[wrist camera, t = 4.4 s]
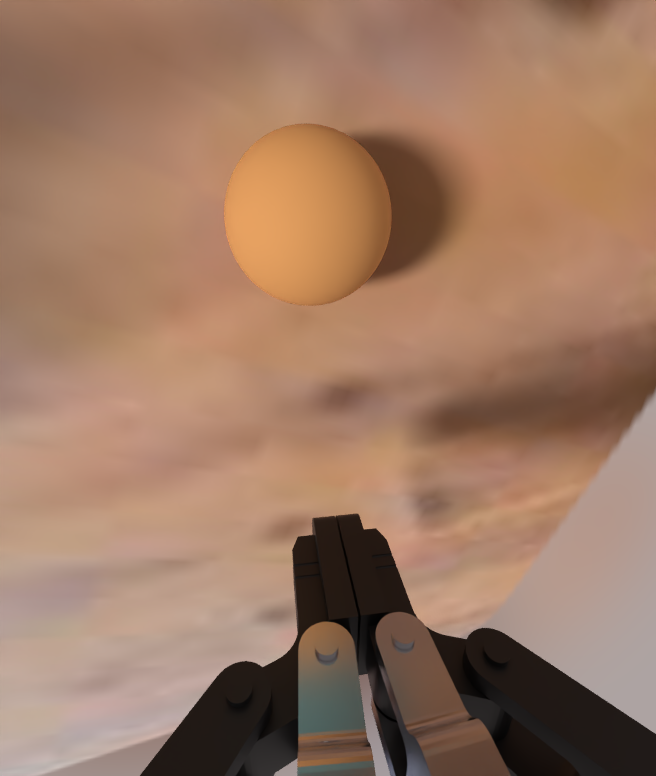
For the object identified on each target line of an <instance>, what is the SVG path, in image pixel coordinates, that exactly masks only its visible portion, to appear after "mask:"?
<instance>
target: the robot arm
mask: <svg viewBox="0 0 656 776" xmlns="http://www.w3.org/2000/svg"><path fill="white" fill-rule="evenodd" d="M312 531H313V535H309V536H300V537H298V538H297V540H296V543H295V545H294V548H293V550H292V551H293V573H294V591H295V604H296V617H297V630H298V635H297V638H296V641H295V643H294V645H293V646H292V647H291V649H290V650H289V651H288V652H287V653H286V654H285V655H284V656H283V657H281V658H279V659H278V660H276V661H274V662H272V663H270V664H268V665H266V666H264V667H261V666H260V665H258V664H256V663H254V662H248V661H243V662H238V663H235V664H232V665H230V666H229V667H227V668H225V669H224V670H223V671H222V672H221V673H220V674H219V675H218V676H217V677H216V679H215V680H214V681H213V683H212V684H211V685H210V686H209V688H208V689H207V690H206V692H205V693H204V694H203V695H202V697H201V698H200V699H199V701H198V702H197V703H196V704H195V706H194V707H193V708H192V709H191V711H190V712H189V713H188V715H187V716H186V717H185V718H184V720H183V721H182V722H181V724H180V725H179V726H178V727H177V729H176V730H175V731H174V733H173V734H172V735H171V736H170V738H169V739H168V740H167V742H166V743H165V744H164V745H163V747H162V748H161V749H160V751H159V752H158V753H157V754H156V756H155V757H154V758H153V760H152V761H151V762H150V763H149V765H148V766H147V767H146V769H145V770H144V771H143V772H142V774H141V775H140V776H274V774H275V772H277V771H278V770H280V769H282V768H283V767H285V766H286V765H288V764H289V763H291V762H292V761H294V760H295V759H297V758H298V776H376V775H375V768H374V761H373V755H372V750H371V746H370V743H369V742H368V740H367V734H366V728H365V720H364V712H363V705H362V697H361V690H360V682H359V675H363V674H368V677H369V682H370V686H371V707H372V711H373V715H374V719H375V722H376V726H377V729H378V732H379V736H380V740H381V743H382V747H383V750H384V754H385V757H386V761H387V764H388V768H389V771H390V775H391V776H656V734H655V733H653V732H652V731H650V730H649V729H647V728H646V727H644V726H643V725H641V724H640V723H638V722H637V721H635V720H634V719H632V718H631V717H629V716H628V715H626V714H625V713H623V712H622V711H620V710H619V709H617V708H616V707H614V706H613V705H611V704H610V703H608V702H607V701H605V700H604V699H602V698H601V697H599V696H598V695H596V694H594V693H593V692H592V691H590V690H589V689H587V688H585V687H584V686H582V685H581V684H580V683H578V682H577V681H575V680H574V679H572V678H571V677H569V676H568V675H566V674H565V673H563V672H562V671H560V670H558V669H557V668H555V667H554V666H553V665H551V664H550V663H548V662H546V661H545V660H543V659H542V658H540V657H539V656H537V655H536V654H534V653H533V652H531V651H530V650H528V649H527V648H525V647H524V646H522V645H521V644H519V643H518V642H516V641H515V640H513V639H512V638H510V637H509V636H507V635H506V634H504V633H502V632H500V631H498V630H495V629H490V628H481V629H477V630H475V631H473V632H472V633H471V634H470V635H469V636H468V638H467V639H462V638H457V637H451V636H446V635H442V634H439V633H436V632H434V631H432V630H430V629H429V628H427V627H426V626H425V625H424V624H423V623H422V622H421V621H420V620H419V619H418V618H417V616H416V615H415V613H414V611H413V609H412V606H411V604H410V601H409V598H408V596H407V593H406V590H405V588H404V585H403V582H402V580H401V577H400V574H399V572H398V569H397V567H396V564H395V561H394V558H393V556H392V553H391V550H390V548H389V545H388V542H387V540H386V539H385V538H384V536H383V535H382V534H381V533H380V532H379V531H378V530H377V529H376V528H375V529H365V530H364V529H363V526H362V523H361V520H360V517H359V514H348V515H338V516H336V518H335V516H329V517H319V518H313V519H312Z"/></svg>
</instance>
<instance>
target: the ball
mask: <svg viewBox="0 0 656 776" xmlns="http://www.w3.org/2000/svg"><path fill="white" fill-rule="evenodd" d="M224 220H225V228H226V234H227V238H228V241H229V245H230V248H231V250H232V252H233V255H234V257H235V259H236V261H237V262H238V264H239V266H240V267H241V269H242V270H243V271H244V273H245V274H246V275H247V276H248V278H249V279H250V280H251V281H252V282H253V283H254V284H255V285H257V286H258V287H259V288H260V289H262V290H263V291H264V292H266V293H268V294H269V295H271V296H273V297H275V298H277V299H279V300H281V301H285V302H288V303H291V304H297V305H308V306H314V305H323V304H327V303H332V302H335V301H337V300H340V299H342V298H344V297H346V296H348V295H350V294H351V293H353V292H354V291H356V290H357V289H358V288H360V287H361V286H362V285H363V284H364V283H365V282H366V281H367V280H368V279H369V278H370V276H371V275H372V274H373V273H374V271H375V270H376V268H377V267H378V265H379V263H380V262H381V260H382V258H383V256H384V253H385V250H386V248H387V245H388V241H389V237H390V231H391V223H392V210H391V201H390V196H389V192H388V188H387V185H386V182H385V179H384V177H383V175H382V173H381V171H380V169H379V167H378V165H377V164H376V162H375V161H374V159H373V158H372V157H371V155H370V154H369V153H368V152H367V151H366V150H365V149H364V148H363V147H362V146H361V145H360V144H359V143H358V142H356V141H355V140H354V139H352V138H351V137H349V136H348V135H346V134H344V133H342V132H340V131H338V130H336V129H333V128H330V127H326V126H322V125H316V124H295V125H290V126H285V127H282V128H280V129H277V130H274V131H272V132H271V133H269V134H267V135H265V136H263V137H262V138H261V139H260V140H258V141H257V142H256V143H254V144H253V145H252V146H251V147H250V148H249V149H248V150H247V151H246V153H245V154H244V155H243V157H242V158H241V159H240V161H239V162H238V164H237V166H236V168H235V170H234V172H233V173H232V176H231V179H230V181H229V184H228V188H227V192H226V197H225V207H224Z"/></svg>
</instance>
